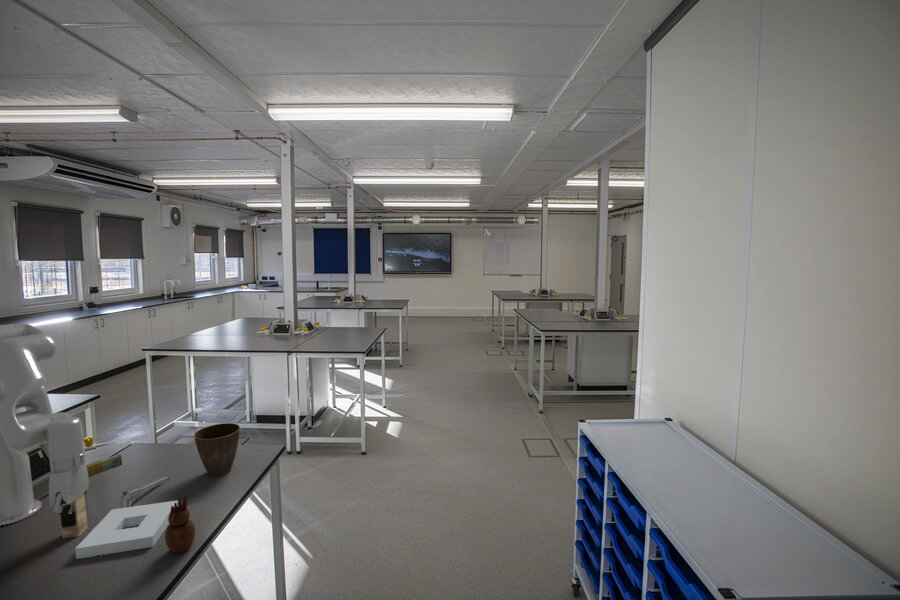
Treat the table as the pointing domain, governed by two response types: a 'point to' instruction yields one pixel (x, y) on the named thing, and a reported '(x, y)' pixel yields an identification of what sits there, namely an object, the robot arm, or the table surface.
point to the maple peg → (77, 519)
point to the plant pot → (217, 447)
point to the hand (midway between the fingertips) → (74, 520)
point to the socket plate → (126, 530)
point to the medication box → (104, 464)
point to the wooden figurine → (179, 528)
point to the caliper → (138, 493)
